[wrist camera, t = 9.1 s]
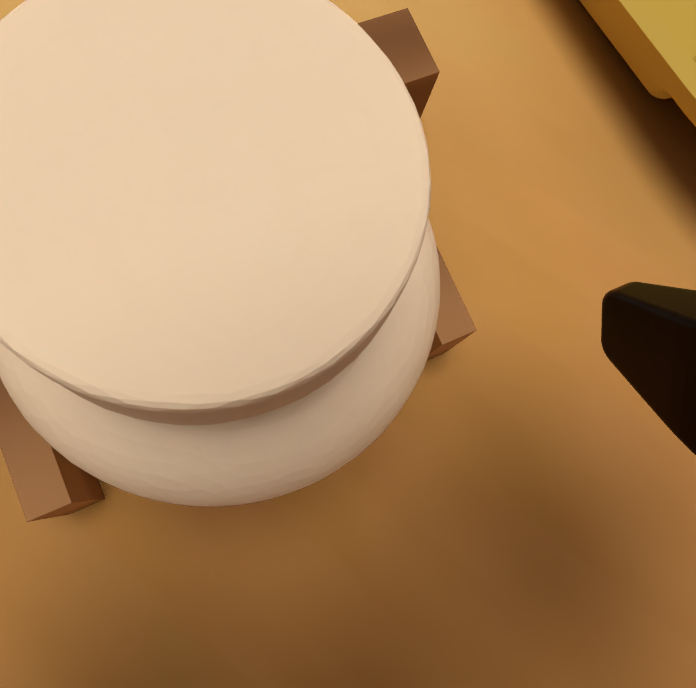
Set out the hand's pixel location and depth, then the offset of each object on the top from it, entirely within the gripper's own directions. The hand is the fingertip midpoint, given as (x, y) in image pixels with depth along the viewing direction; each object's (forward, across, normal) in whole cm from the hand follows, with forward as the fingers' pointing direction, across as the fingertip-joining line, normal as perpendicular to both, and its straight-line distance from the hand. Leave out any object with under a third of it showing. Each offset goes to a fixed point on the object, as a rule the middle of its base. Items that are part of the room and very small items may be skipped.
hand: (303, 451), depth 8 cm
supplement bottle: (+10, 0, +5) cm, 11 cm away
